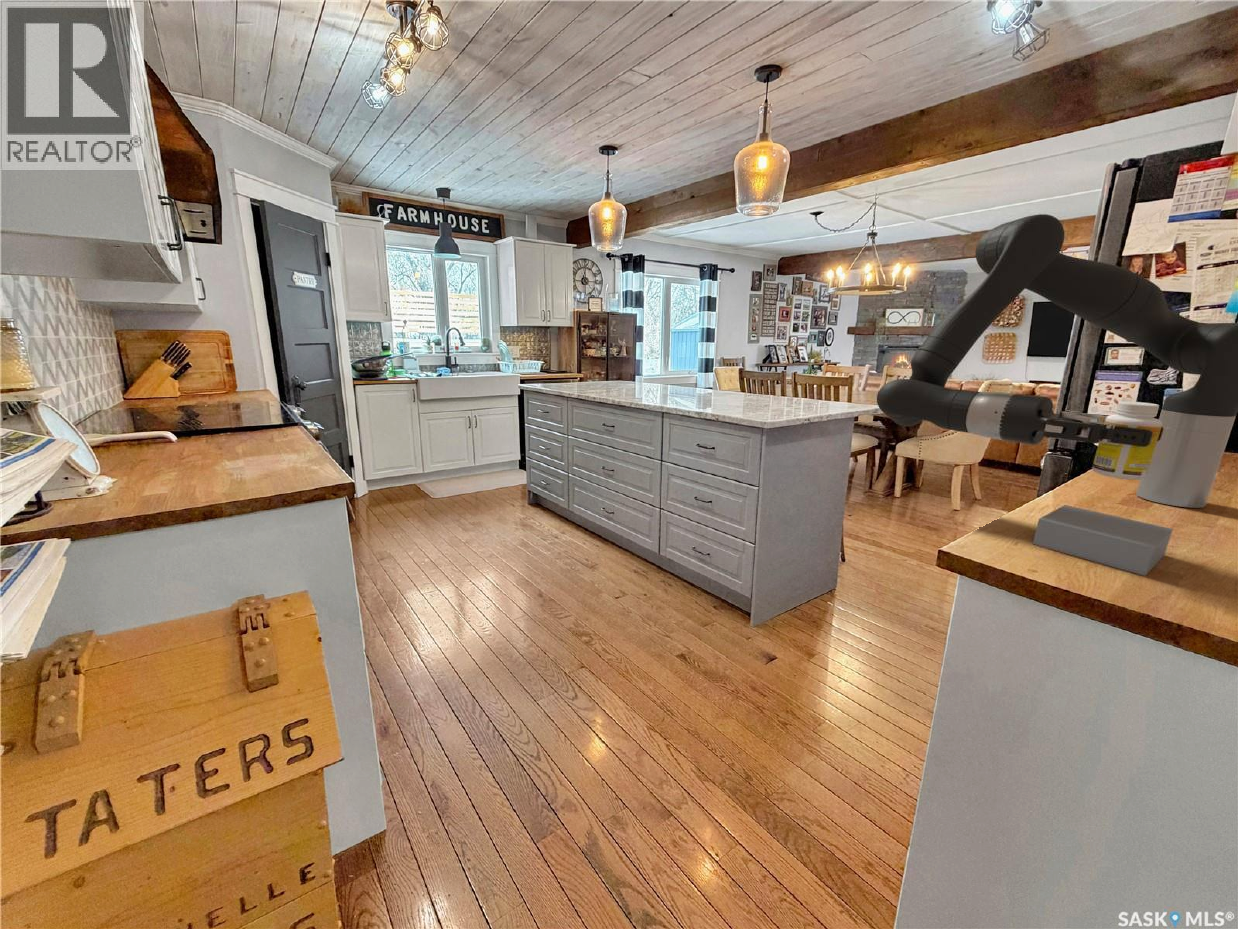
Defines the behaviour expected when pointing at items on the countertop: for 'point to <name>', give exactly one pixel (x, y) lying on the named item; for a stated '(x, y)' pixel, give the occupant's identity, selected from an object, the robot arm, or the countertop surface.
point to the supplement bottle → (1125, 457)
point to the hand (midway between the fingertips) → (1155, 436)
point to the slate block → (1103, 538)
